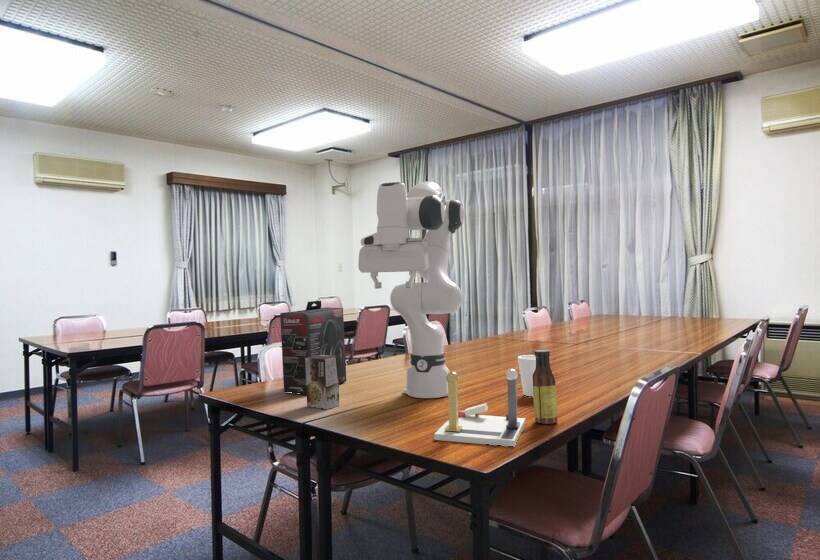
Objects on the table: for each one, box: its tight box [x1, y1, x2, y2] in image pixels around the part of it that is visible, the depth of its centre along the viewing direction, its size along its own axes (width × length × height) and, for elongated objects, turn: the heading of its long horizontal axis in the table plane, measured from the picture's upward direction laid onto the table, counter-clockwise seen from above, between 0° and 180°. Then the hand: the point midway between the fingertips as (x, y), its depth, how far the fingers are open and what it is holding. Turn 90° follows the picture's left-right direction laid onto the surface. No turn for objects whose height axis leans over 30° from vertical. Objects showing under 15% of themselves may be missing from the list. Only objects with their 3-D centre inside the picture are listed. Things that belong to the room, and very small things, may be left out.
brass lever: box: [445, 371, 463, 432], centre depth 131 cm, size 3×4×15 cm
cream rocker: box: [464, 402, 489, 417], centre depth 143 cm, size 3×6×2 cm, turn 70°
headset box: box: [279, 300, 347, 395], centre depth 194 cm, size 24×13×33 cm, turn 154°
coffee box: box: [305, 355, 340, 410], centre depth 166 cm, size 9×6×16 cm
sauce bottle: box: [532, 349, 559, 425], centre depth 142 cm, size 7×6×20 cm
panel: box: [433, 409, 527, 448], centre depth 135 cm, size 20×20×3 cm
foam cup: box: [517, 354, 536, 397], centre depth 173 cm, size 10×9×13 cm
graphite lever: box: [505, 368, 520, 429], centre depth 133 cm, size 4×3×15 cm
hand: (393, 288), depth 144 cm, fingers open, 8 cm apart
